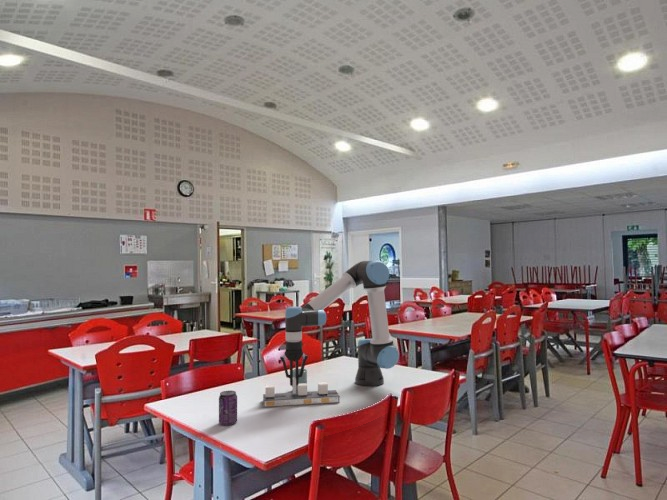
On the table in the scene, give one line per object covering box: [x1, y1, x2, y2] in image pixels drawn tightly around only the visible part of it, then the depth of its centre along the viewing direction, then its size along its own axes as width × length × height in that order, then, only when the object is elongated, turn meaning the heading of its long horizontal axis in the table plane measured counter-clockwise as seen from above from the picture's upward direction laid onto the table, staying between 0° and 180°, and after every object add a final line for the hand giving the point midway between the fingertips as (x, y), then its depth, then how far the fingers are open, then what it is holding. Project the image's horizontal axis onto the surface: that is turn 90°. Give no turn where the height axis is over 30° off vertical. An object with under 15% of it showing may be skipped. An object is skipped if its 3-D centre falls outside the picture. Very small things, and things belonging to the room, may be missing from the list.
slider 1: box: [264, 384, 276, 397], centre depth 203 cm, size 4×4×4 cm
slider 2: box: [297, 383, 308, 396], centre depth 205 cm, size 4×4×4 cm
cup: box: [293, 368, 308, 392], centre depth 224 cm, size 8×8×10 cm
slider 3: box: [317, 381, 329, 394], centre depth 207 cm, size 4×4×4 cm
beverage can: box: [218, 390, 238, 426], centre depth 177 cm, size 7×7×12 cm
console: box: [262, 389, 340, 408], centre depth 205 cm, size 34×10×3 cm, turn 100°
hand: (294, 392), depth 205 cm, fingers closed
